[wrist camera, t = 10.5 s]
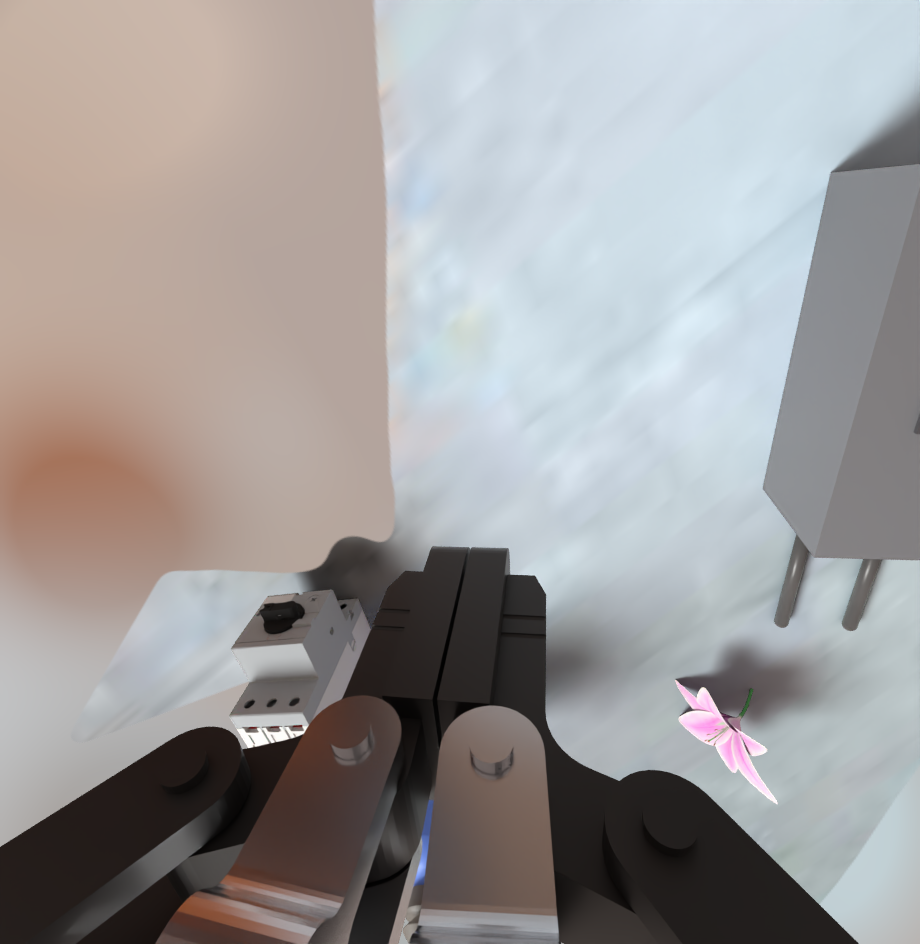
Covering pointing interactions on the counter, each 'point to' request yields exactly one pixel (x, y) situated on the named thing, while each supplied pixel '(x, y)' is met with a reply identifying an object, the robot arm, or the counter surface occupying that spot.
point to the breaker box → (854, 387)
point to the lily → (723, 735)
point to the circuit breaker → (295, 662)
